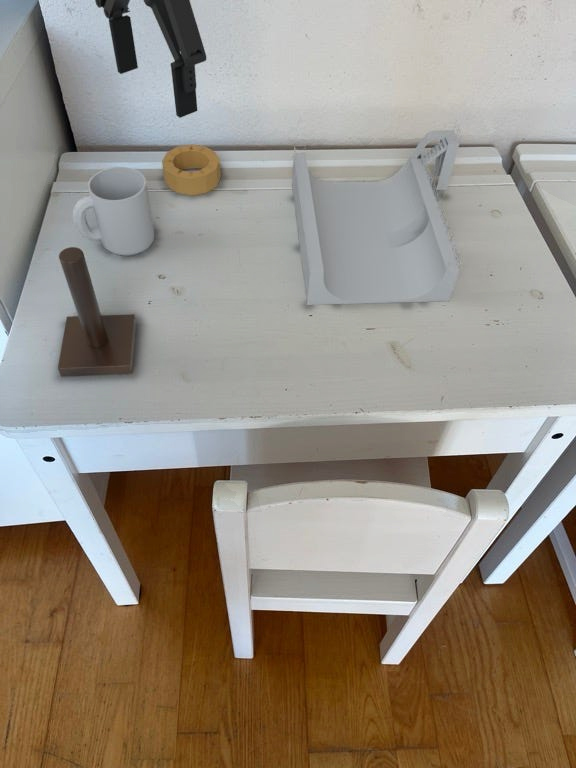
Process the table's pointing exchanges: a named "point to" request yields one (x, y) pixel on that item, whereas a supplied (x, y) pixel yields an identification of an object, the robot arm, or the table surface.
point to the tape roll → (192, 180)
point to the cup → (117, 211)
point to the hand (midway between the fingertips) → (156, 91)
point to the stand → (92, 328)
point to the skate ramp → (378, 232)
